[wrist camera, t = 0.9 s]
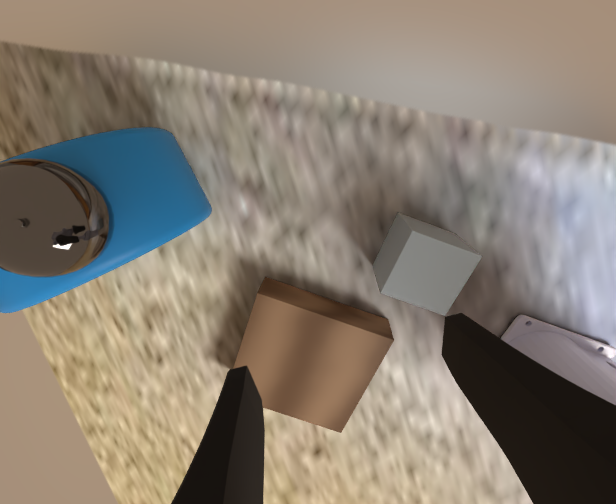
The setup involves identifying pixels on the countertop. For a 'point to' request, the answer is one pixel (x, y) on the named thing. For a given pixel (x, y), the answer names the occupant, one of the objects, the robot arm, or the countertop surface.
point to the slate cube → (423, 264)
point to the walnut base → (311, 353)
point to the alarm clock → (90, 210)
